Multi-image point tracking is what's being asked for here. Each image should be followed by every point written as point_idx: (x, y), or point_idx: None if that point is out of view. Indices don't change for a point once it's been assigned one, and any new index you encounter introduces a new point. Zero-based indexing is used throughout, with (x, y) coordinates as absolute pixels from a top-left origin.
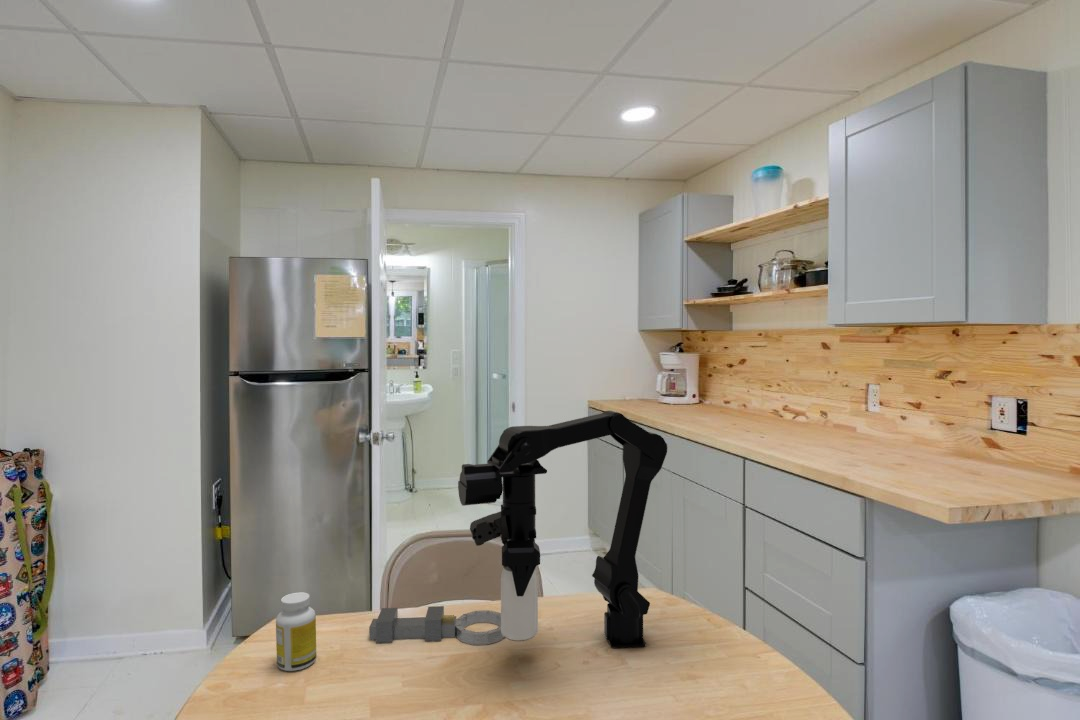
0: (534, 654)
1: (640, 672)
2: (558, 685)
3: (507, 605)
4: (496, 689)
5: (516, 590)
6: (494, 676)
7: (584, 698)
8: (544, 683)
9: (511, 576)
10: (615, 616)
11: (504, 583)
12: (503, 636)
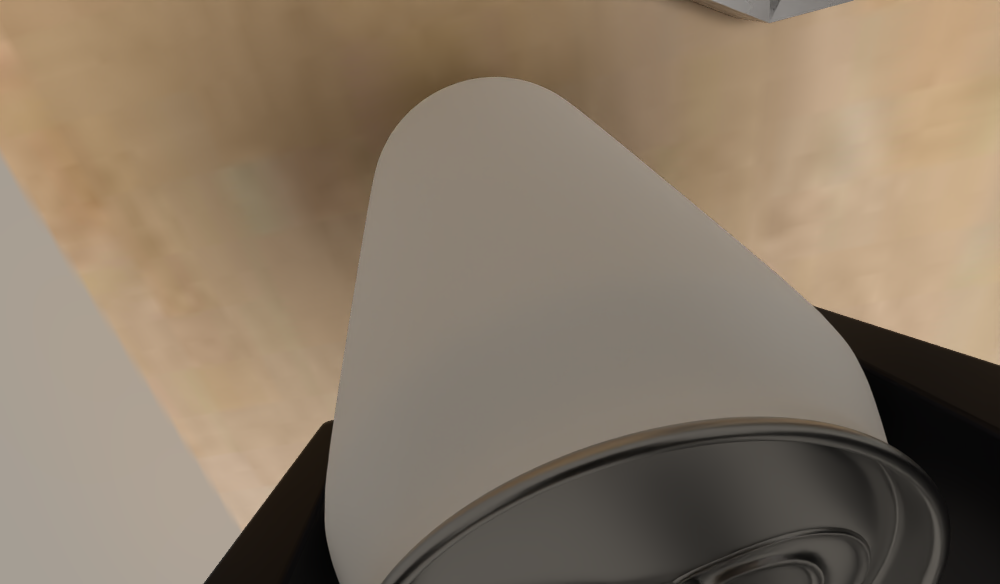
0: None
1: None
2: (314, 341)
3: (367, 247)
4: (175, 95)
5: (287, 480)
6: (289, 52)
7: (262, 428)
8: (310, 291)
9: (348, 551)
10: None
11: (379, 343)
12: (699, 2)
